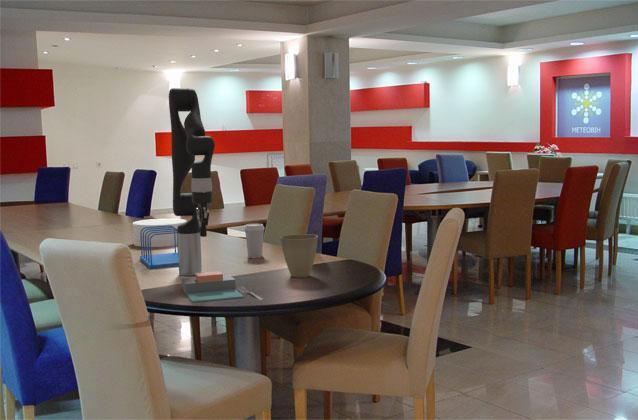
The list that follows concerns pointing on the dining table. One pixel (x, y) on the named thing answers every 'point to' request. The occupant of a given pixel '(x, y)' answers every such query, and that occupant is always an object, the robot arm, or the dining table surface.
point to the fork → (249, 292)
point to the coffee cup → (254, 239)
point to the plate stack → (156, 239)
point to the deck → (207, 285)
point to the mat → (214, 295)
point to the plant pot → (299, 253)
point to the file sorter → (159, 259)
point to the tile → (209, 276)
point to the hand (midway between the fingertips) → (203, 236)
